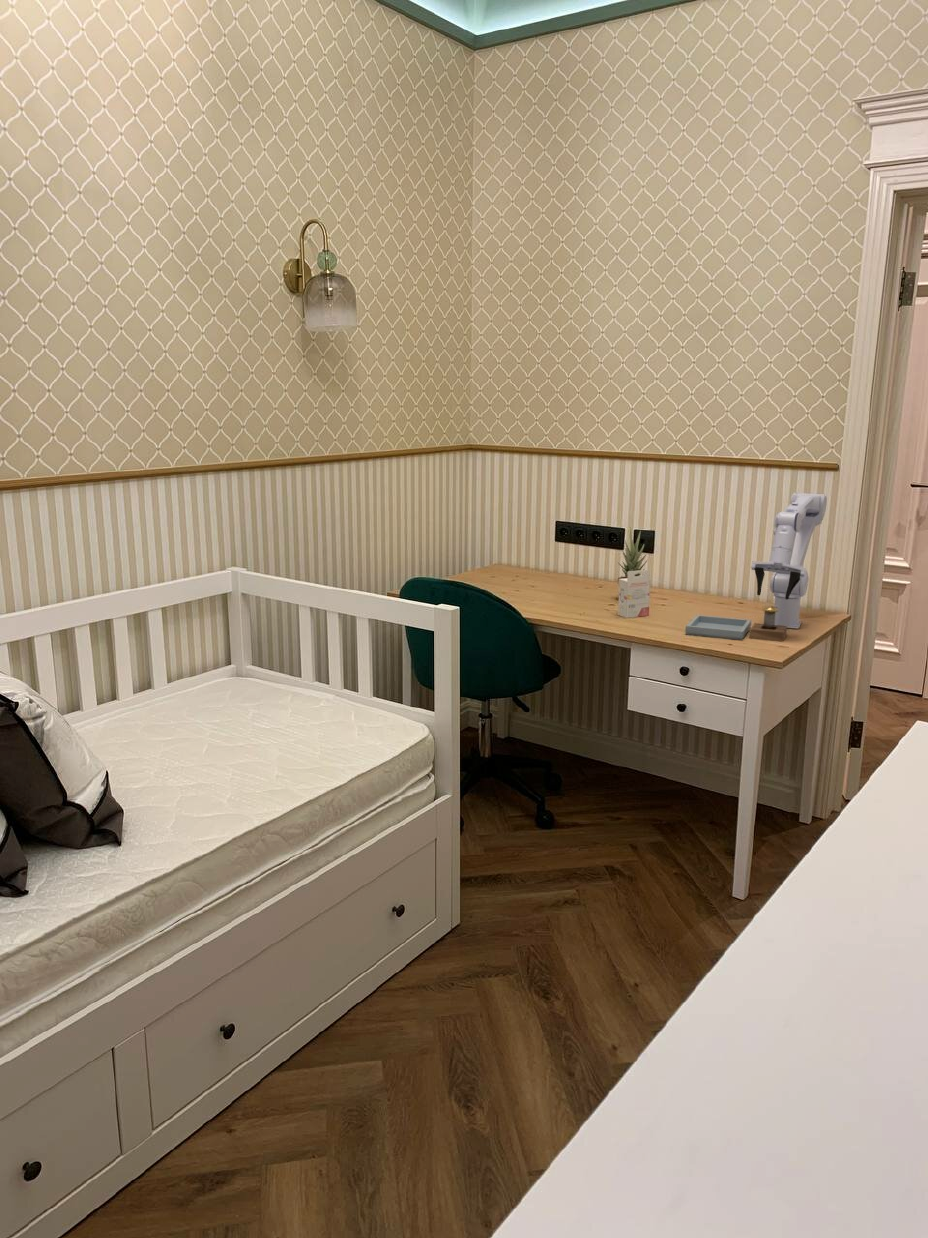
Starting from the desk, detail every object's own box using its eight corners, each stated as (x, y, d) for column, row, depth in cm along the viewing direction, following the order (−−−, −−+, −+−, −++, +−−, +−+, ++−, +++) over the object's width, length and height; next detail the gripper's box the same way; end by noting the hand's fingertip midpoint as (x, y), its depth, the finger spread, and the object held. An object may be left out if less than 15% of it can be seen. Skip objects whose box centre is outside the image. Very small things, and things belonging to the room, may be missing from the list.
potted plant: (636, 596, 332) (639, 524, 327) (650, 601, 324) (653, 528, 318) (610, 597, 329) (613, 525, 324) (623, 603, 321) (626, 529, 315)
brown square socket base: (754, 631, 283) (754, 622, 283) (786, 634, 280) (787, 625, 279) (749, 638, 275) (750, 629, 275) (782, 641, 272) (783, 632, 271)
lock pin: (761, 633, 281) (763, 605, 279) (777, 635, 279) (779, 606, 277) (759, 637, 277) (761, 608, 275) (775, 638, 275) (777, 609, 273)
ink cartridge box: (640, 612, 307) (642, 567, 304) (649, 616, 303) (651, 569, 299) (617, 615, 304) (618, 568, 301) (625, 618, 299) (627, 571, 296)
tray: (696, 622, 294) (696, 614, 293) (750, 628, 287) (751, 619, 287) (685, 634, 279) (685, 626, 279) (742, 640, 273) (743, 631, 272)
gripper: (754, 542, 275) (745, 587, 272) (808, 549, 269) (799, 595, 266) (756, 552, 281) (747, 595, 278) (808, 558, 275) (799, 603, 272)
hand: (772, 596), depth 272 cm, fingers open, 7 cm apart
